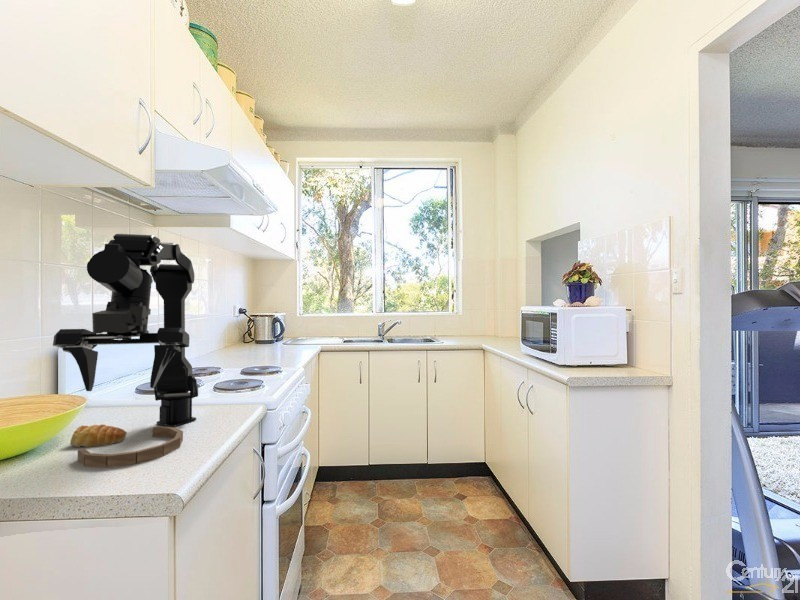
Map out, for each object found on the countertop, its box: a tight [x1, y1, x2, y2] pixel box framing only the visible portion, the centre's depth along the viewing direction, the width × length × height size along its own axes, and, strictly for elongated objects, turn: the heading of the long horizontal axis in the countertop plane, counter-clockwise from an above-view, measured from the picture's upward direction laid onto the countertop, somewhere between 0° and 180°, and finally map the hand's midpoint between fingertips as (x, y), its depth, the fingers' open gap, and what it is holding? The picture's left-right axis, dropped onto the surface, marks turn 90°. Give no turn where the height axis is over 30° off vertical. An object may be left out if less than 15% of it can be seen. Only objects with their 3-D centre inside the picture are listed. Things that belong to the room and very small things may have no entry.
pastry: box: [70, 424, 128, 448], centre depth 84 cm, size 9×7×4 cm
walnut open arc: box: [77, 425, 184, 468], centre depth 79 cm, size 18×13×2 cm
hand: (121, 389), depth 65 cm, fingers open, 9 cm apart
